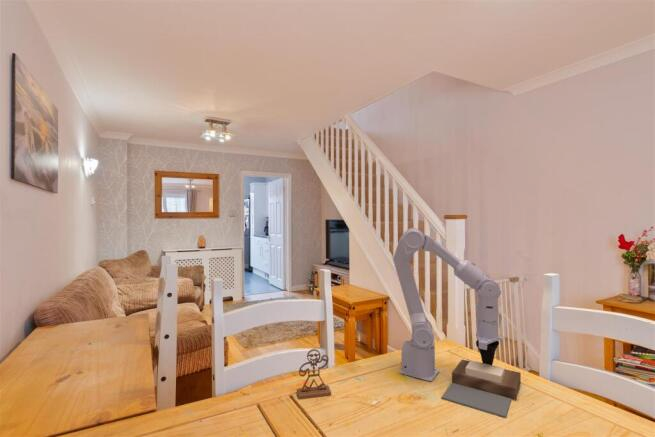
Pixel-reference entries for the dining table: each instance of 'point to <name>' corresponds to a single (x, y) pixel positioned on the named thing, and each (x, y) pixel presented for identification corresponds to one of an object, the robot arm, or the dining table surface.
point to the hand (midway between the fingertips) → (487, 366)
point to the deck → (505, 389)
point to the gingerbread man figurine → (313, 391)
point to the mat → (477, 399)
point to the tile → (485, 371)
